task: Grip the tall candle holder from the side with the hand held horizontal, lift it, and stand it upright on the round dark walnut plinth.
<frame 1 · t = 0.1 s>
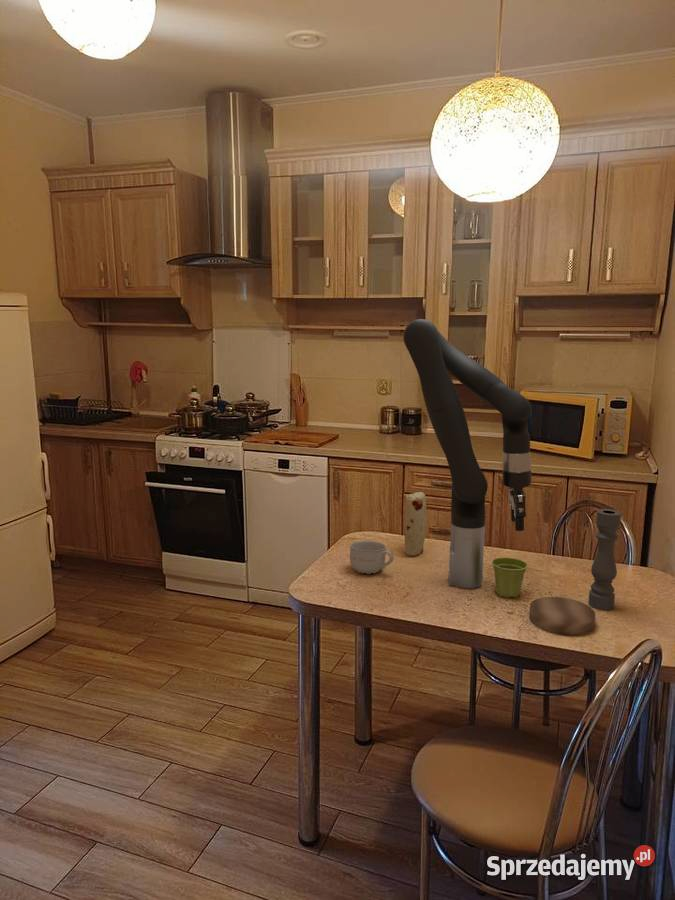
hand: (517, 525, 171), 17 cm above the table, tool pointing down, fingers open, 8 cm apart
teacup: (371, 572, 184), on the table
plant pot: (507, 594, 169), on the table
walnut plinth: (561, 620, 152), on the table
candle holder: (601, 605, 161), on the table
food model: (414, 553, 200), on the table
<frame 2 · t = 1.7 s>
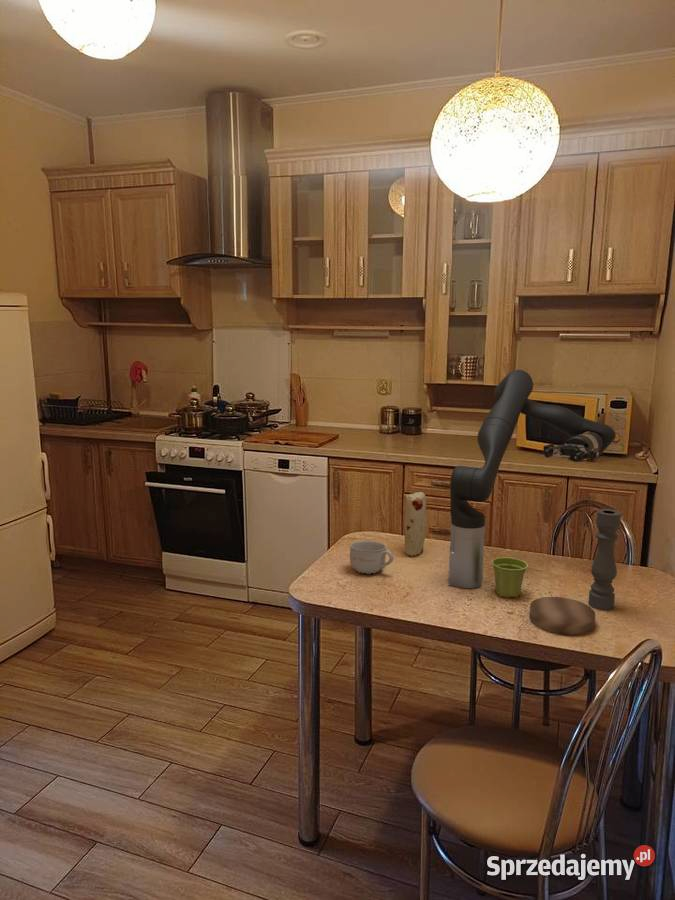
hand: (561, 455, 172), 36 cm above the table, tool horizontal, fingers open, 8 cm apart
nothing on the table moved.
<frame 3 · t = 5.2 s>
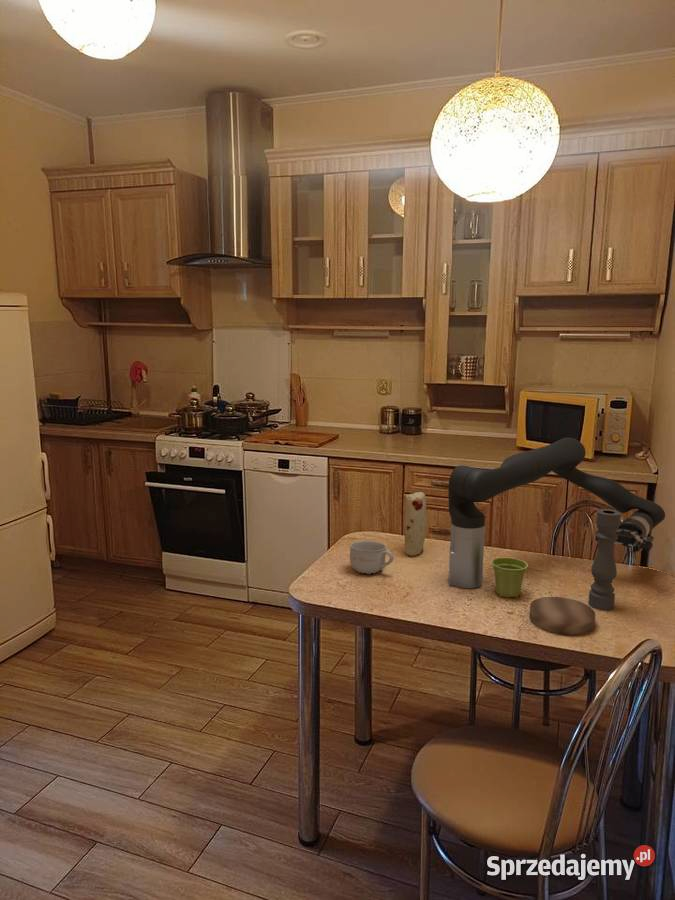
hand: (617, 545, 168), 13 cm above the table, tool horizontal, fingers open, 8 cm apart
nothing on the table moved.
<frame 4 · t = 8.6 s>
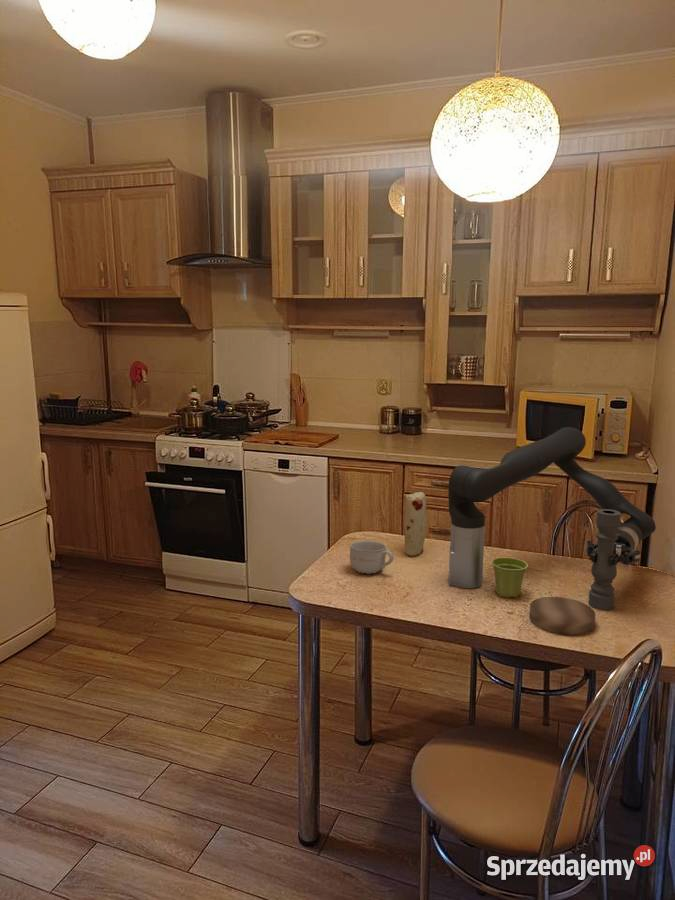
hand: (602, 560, 157), 13 cm above the table, tool horizontal, fingers closed on candle holder, 3 cm apart
candle holder: (601, 605, 161), on the table, touching gripper
everything else where it was.
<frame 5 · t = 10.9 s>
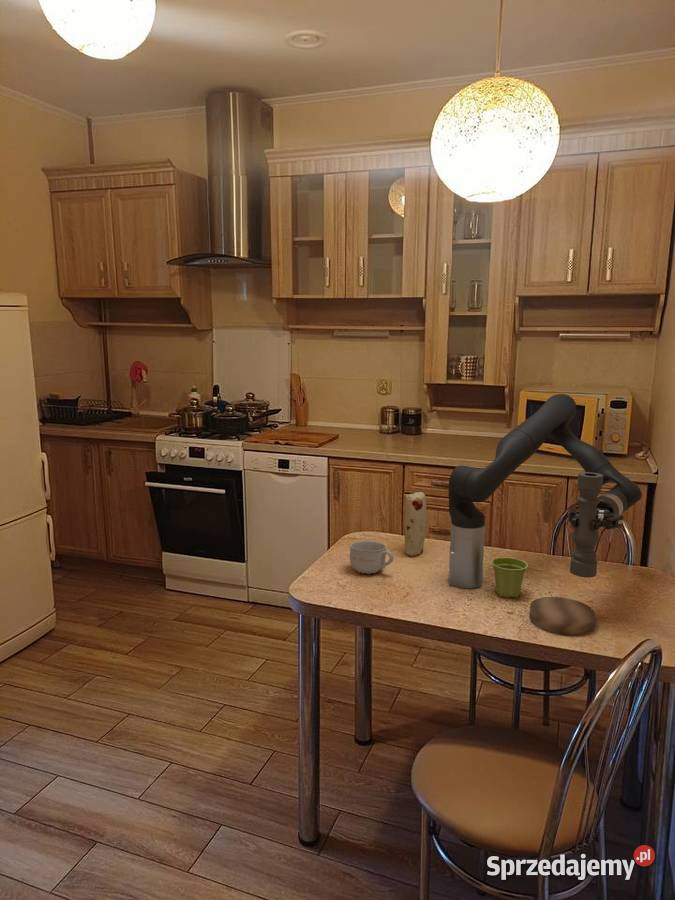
hand: (583, 525, 150), 24 cm above the table, tool horizontal, fingers closed on candle holder, 3 cm apart
candle holder: (582, 573, 155), point 11 cm above the table, touching gripper
everything else where it was.
when the fingers open (17 cm above the table, at t = 13.4 s): candle holder drops 1 cm, resting on walnut plinth.
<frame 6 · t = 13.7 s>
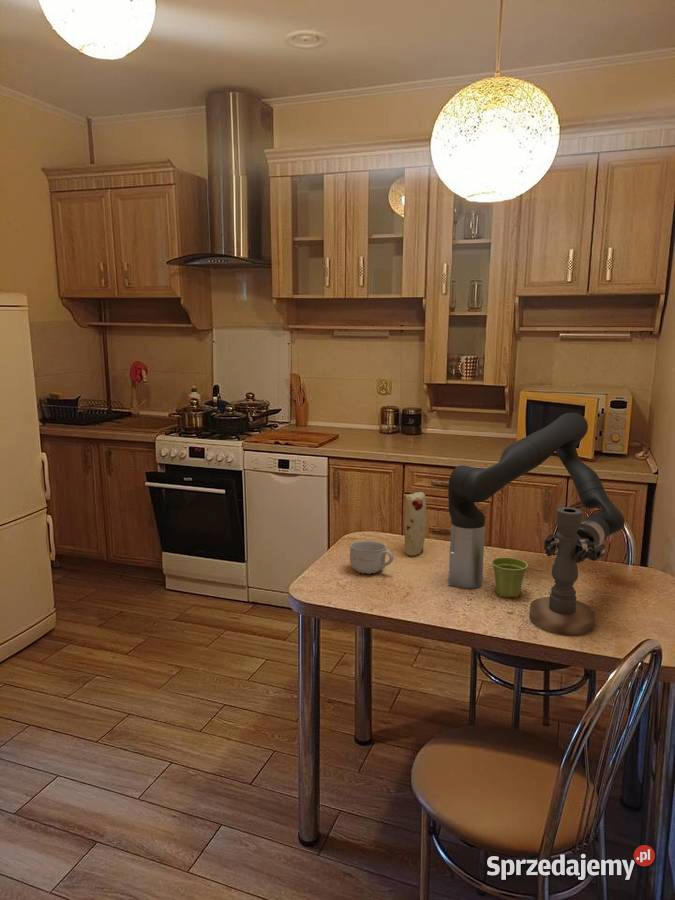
hand: (562, 555, 147), 17 cm above the table, tool horizontal, fingers open, 6 cm apart
candle holder: (562, 609, 152), point 3 cm above the table, touching walnut plinth
everything else where it was.
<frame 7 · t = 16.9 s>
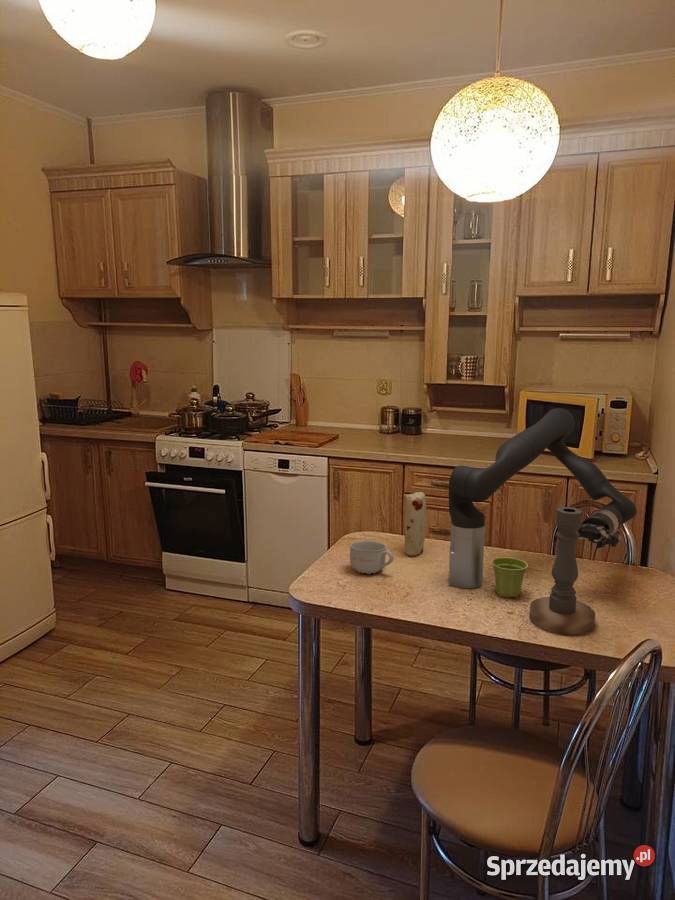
hand: (581, 541, 158), 17 cm above the table, tool horizontal, fingers open, 8 cm apart
nothing on the table moved.
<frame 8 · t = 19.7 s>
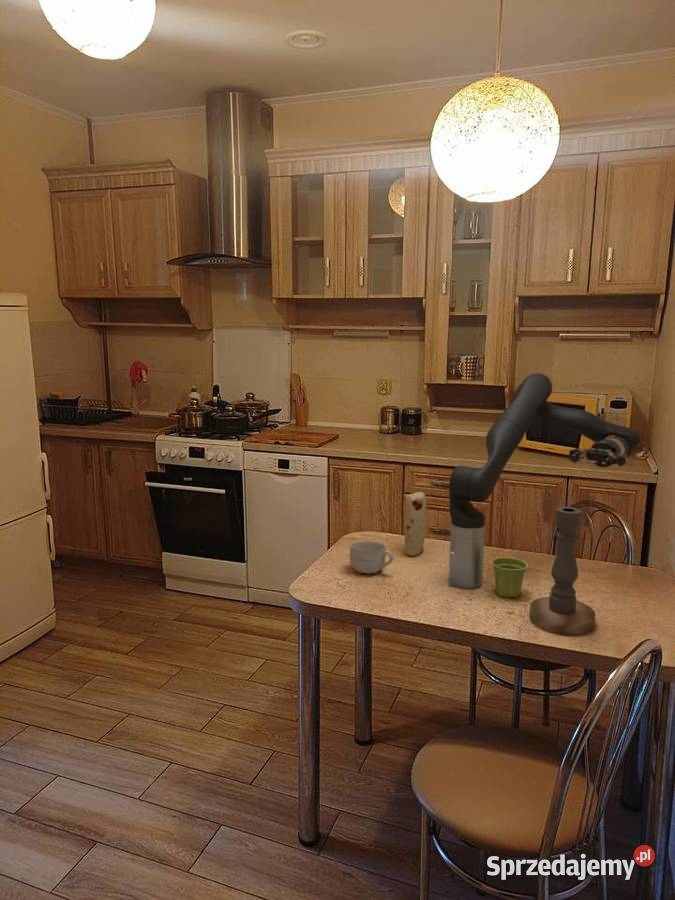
hand: (589, 460, 165), 36 cm above the table, tool horizontal, fingers open, 8 cm apart
nothing on the table moved.
at the end: candle holder inside the target area on the walnut plinth (0.2 cm from its centre), point 2.8 cm above the walnut plinth's base; candle holder tilted 0°; the gripper is holding nothing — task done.
